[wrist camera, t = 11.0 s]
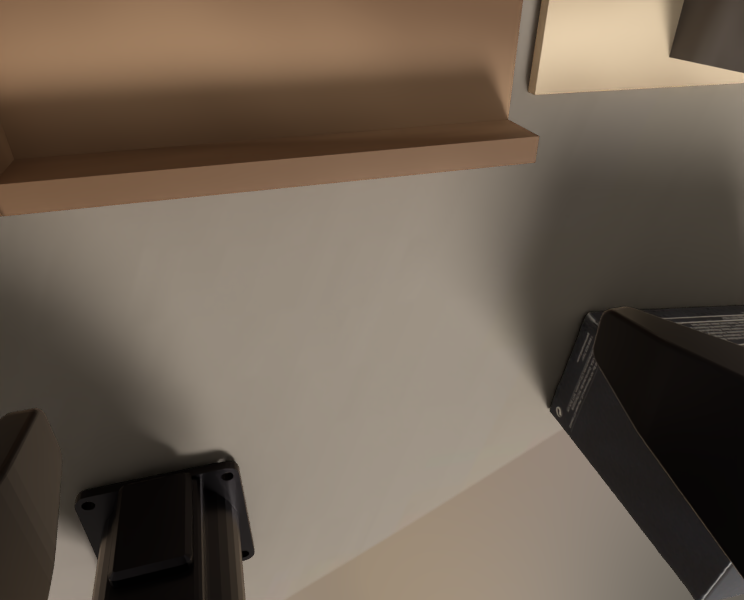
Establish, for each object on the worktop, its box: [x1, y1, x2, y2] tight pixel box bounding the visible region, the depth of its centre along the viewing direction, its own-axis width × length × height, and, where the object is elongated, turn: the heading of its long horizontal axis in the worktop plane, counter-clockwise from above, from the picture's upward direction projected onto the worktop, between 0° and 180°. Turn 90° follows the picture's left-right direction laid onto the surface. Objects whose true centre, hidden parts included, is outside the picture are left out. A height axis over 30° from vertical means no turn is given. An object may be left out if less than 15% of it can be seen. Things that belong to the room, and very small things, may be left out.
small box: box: [550, 306, 744, 600], centre depth 24 cm, size 11×6×10 cm, turn 82°
